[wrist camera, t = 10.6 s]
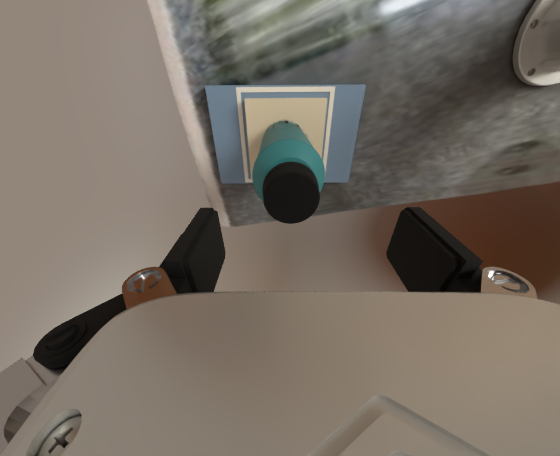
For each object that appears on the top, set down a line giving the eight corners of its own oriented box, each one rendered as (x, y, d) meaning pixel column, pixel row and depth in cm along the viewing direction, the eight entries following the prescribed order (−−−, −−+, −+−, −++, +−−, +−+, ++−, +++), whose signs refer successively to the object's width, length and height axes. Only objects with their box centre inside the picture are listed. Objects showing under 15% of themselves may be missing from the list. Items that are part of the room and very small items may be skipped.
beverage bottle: (263, 165, 33) (248, 244, 16) (259, 117, 29) (235, 153, 12) (305, 164, 33) (335, 241, 16) (306, 115, 29) (347, 149, 12)
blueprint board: (362, 84, 30) (371, 84, 27) (346, 179, 38) (351, 186, 35) (207, 85, 30) (200, 85, 27) (223, 180, 38) (218, 188, 35)
